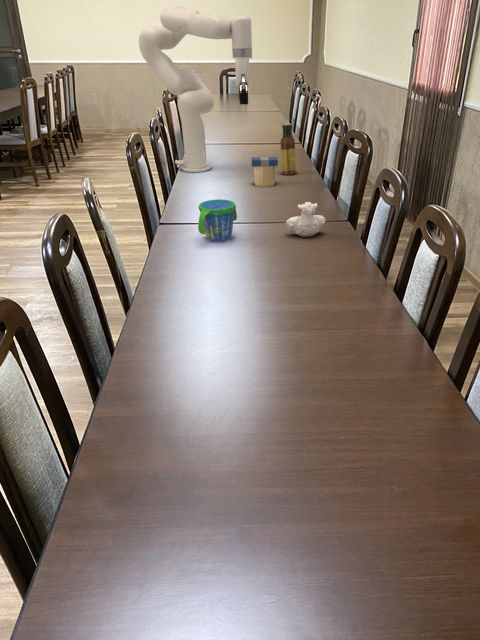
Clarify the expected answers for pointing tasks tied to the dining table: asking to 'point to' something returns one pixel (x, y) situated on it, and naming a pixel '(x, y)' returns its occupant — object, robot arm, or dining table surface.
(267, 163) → the block
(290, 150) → the sauce bottle
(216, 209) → the snack cup
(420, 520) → the dining table surface
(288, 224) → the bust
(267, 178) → the beige cup
